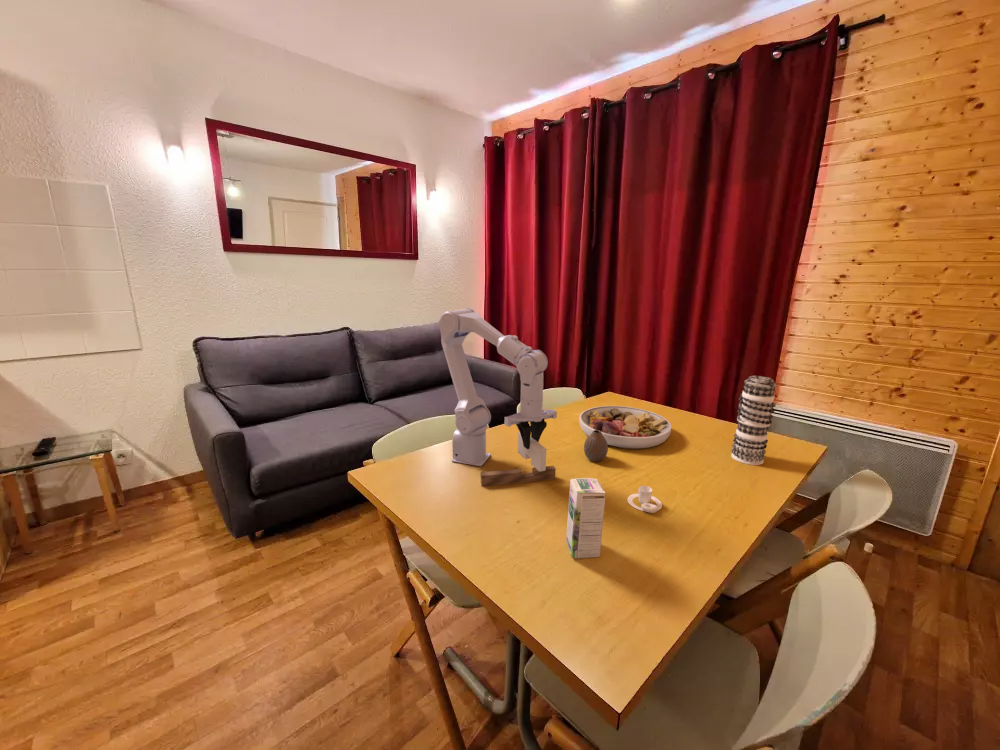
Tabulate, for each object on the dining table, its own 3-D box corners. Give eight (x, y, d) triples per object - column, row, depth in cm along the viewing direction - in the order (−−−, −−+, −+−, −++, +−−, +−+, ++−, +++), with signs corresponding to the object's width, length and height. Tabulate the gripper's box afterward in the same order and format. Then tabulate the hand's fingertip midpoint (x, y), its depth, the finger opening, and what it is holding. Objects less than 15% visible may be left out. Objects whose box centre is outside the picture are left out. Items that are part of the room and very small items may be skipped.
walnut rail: (481, 486, 107) (481, 475, 106) (480, 482, 109) (480, 472, 108) (555, 478, 111) (555, 468, 110) (553, 475, 113) (553, 465, 112)
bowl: (598, 412, 162) (600, 393, 160) (679, 430, 145) (682, 409, 143) (563, 437, 138) (564, 415, 136) (655, 461, 121) (658, 437, 119)
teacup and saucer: (658, 519, 94) (660, 503, 93) (623, 509, 98) (624, 493, 97) (664, 500, 102) (666, 485, 101) (631, 492, 105) (632, 477, 104)
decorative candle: (722, 454, 126) (734, 375, 119) (745, 450, 129) (759, 372, 122) (748, 467, 117) (762, 383, 111) (772, 463, 120) (788, 380, 114)
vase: (607, 465, 119) (609, 437, 116) (583, 462, 120) (584, 435, 118) (606, 454, 125) (608, 427, 123) (583, 452, 127) (585, 426, 124)
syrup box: (565, 540, 86) (568, 478, 82) (592, 539, 86) (597, 476, 83) (572, 559, 80) (575, 493, 77) (601, 557, 81) (606, 492, 77)
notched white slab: (517, 452, 115) (518, 432, 113) (523, 451, 116) (524, 431, 114) (539, 471, 104) (540, 449, 103) (545, 470, 105) (546, 448, 104)
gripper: (513, 406, 100) (512, 458, 103) (564, 398, 105) (561, 447, 109) (501, 398, 106) (500, 447, 109) (549, 391, 112) (547, 437, 115)
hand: (530, 446), depth 110 cm, fingers closed on notched white slab, 2 cm apart
